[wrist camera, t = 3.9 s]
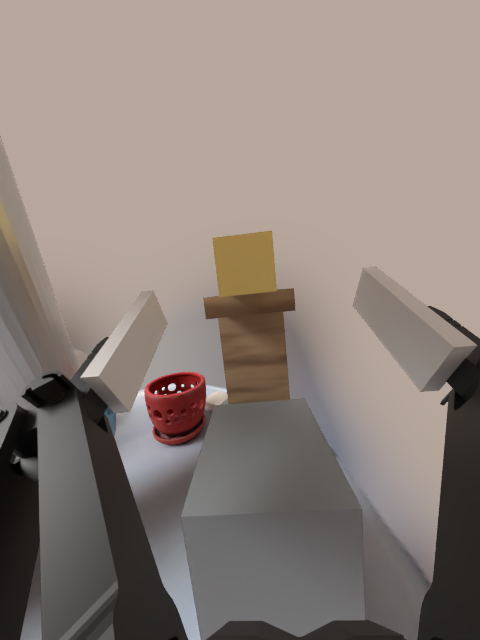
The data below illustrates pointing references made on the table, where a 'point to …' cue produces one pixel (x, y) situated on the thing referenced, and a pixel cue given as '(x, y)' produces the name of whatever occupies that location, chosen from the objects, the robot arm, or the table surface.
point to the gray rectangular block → (272, 523)
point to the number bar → (245, 264)
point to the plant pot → (176, 407)
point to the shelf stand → (253, 344)
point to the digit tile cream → (216, 400)
